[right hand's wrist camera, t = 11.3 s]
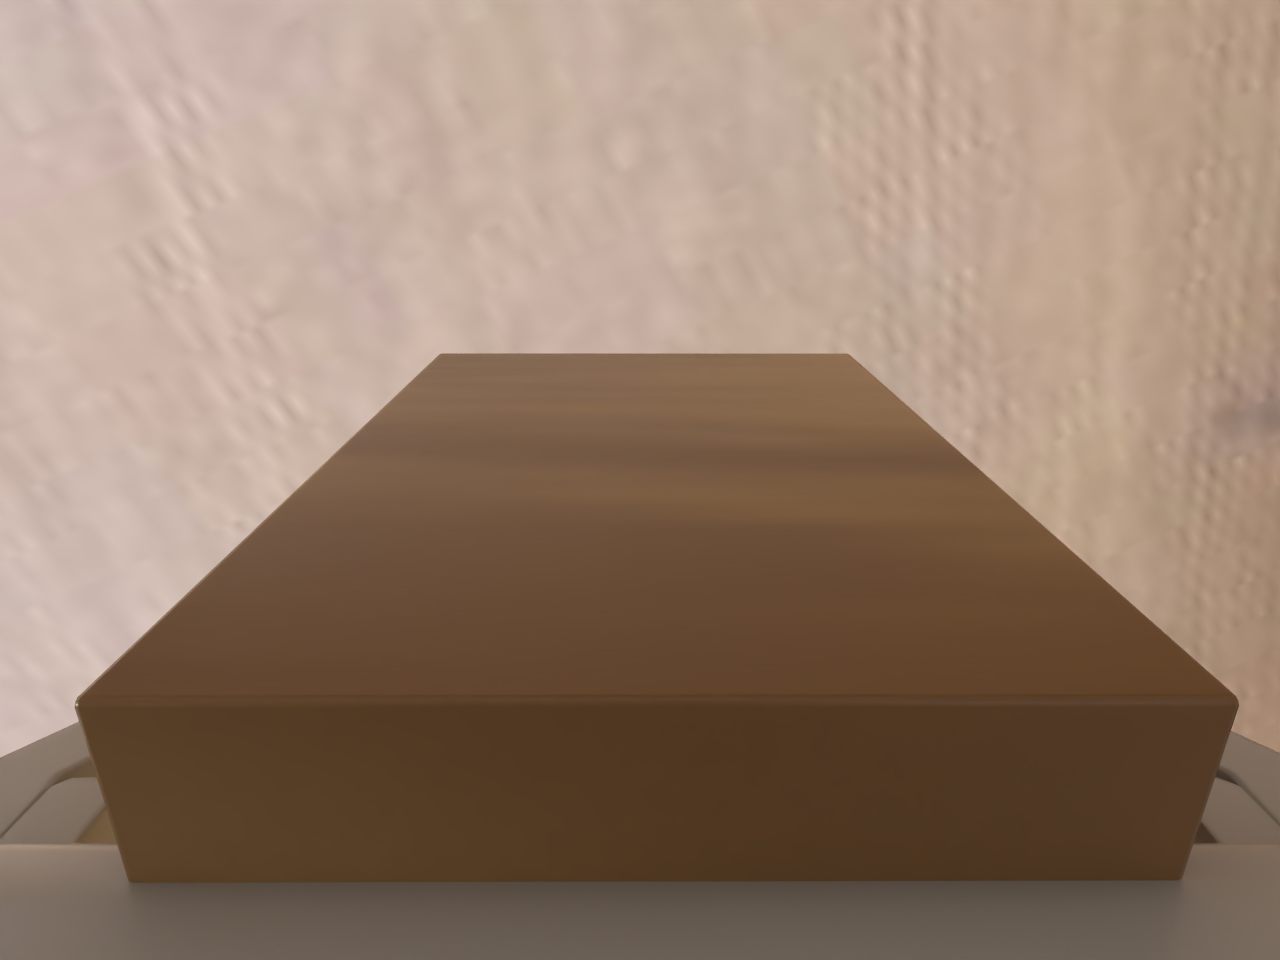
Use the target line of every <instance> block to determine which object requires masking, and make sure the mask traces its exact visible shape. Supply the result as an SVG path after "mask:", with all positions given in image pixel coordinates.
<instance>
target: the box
mask: <svg viewBox="0 0 1280 960" xmlns="http://www.w3.org/2000/svg"><path fill="white" fill-rule="evenodd" d="M1238 707H1239V704H1238V699H1237V697H1236V696H1235V695H1234V694H1233V693H1232V692H1231V691H1230V690H1228V689H1227V688H1226V687H1225V686H1224V685H1223V684H1222V683H1220V682H1219V681H1218V680H1217V679H1216V678H1215V677H1214V676H1213V675H1211V674H1210V673H1209V672H1208V671H1207V670H1206V669H1205V668H1204V667H1202V666H1201V665H1200V664H1199V663H1198V662H1197V661H1196V660H1194V659H1193V658H1192V657H1191V656H1190V655H1189V654H1188V653H1187V652H1185V651H1184V650H1183V649H1182V648H1181V647H1180V646H1179V645H1177V644H1176V643H1175V642H1174V641H1173V640H1172V639H1171V638H1170V637H1168V636H1167V635H1166V634H1165V633H1164V632H1163V631H1162V630H1161V629H1159V628H1158V627H1157V626H1156V625H1155V624H1154V623H1153V622H1151V621H1150V620H1149V619H1148V618H1147V617H1146V616H1145V615H1144V614H1142V613H1141V612H1140V611H1139V610H1138V609H1137V608H1136V607H1134V606H1133V605H1132V604H1131V603H1130V602H1129V601H1128V600H1127V599H1125V598H1124V597H1123V596H1122V595H1121V594H1120V593H1119V592H1117V591H1116V590H1115V589H1114V588H1113V587H1112V586H1111V585H1110V584H1108V583H1107V582H1106V581H1105V580H1104V579H1103V578H1102V577H1101V576H1099V575H1098V574H1097V573H1096V572H1095V571H1094V570H1093V569H1091V568H1090V567H1089V566H1088V565H1087V564H1086V563H1085V562H1084V561H1082V560H1081V559H1080V558H1079V557H1078V556H1077V555H1076V554H1074V553H1073V552H1072V551H1071V550H1070V549H1069V548H1068V547H1067V546H1065V545H1064V544H1063V543H1062V542H1061V541H1060V540H1059V539H1058V538H1056V537H1055V536H1054V535H1053V534H1052V533H1051V532H1050V531H1048V530H1047V529H1046V528H1045V527H1044V526H1043V525H1042V524H1041V523H1039V522H1038V521H1037V520H1036V519H1035V518H1034V517H1033V516H1031V515H1030V514H1029V513H1028V512H1027V511H1026V510H1025V509H1024V508H1022V507H1021V506H1020V505H1019V504H1018V503H1017V502H1016V501H1015V500H1013V499H1012V498H1011V497H1010V496H1009V495H1008V494H1007V493H1005V492H1004V491H1003V490H1002V489H1001V488H1000V487H999V486H998V485H996V484H995V483H994V482H993V481H992V480H991V479H990V478H988V477H987V476H986V475H985V474H984V473H983V472H982V471H981V470H979V469H978V468H977V467H976V466H975V465H974V464H973V463H972V462H970V461H969V460H968V459H967V458H966V457H965V456H964V455H962V454H961V453H960V452H959V451H958V450H957V449H956V448H955V447H953V446H952V445H951V444H950V443H949V442H948V441H947V440H945V439H944V438H943V437H942V436H941V435H940V434H939V433H938V432H936V431H935V430H934V429H933V428H932V427H931V426H930V425H929V424H927V423H926V422H925V421H924V420H923V419H922V418H921V417H919V416H918V415H917V414H916V413H915V412H914V411H913V410H912V409H910V408H909V407H908V406H907V405H906V404H905V403H904V402H902V401H901V400H900V399H899V398H898V397H897V396H896V395H895V394H893V393H892V392H891V391H890V390H889V389H888V388H887V387H886V386H884V385H883V384H882V383H881V382H880V381H879V380H878V379H876V378H875V377H874V376H873V375H872V374H871V373H870V372H869V371H867V370H866V369H865V368H864V367H863V366H862V365H861V364H859V363H858V362H857V361H856V360H855V359H854V358H853V357H852V356H850V355H849V354H440V355H438V356H437V357H436V358H435V359H434V360H433V361H432V362H431V363H430V364H429V365H428V366H427V367H426V368H425V369H424V370H423V371H421V372H420V373H419V374H418V375H417V376H416V377H415V378H414V379H413V380H412V381H411V382H410V383H409V384H408V385H407V386H406V387H405V388H404V389H403V390H401V391H400V392H399V393H398V394H397V395H396V396H395V397H394V398H393V399H392V400H391V401H390V402H389V403H388V404H387V405H386V406H385V407H384V408H382V409H381V410H380V411H379V412H378V413H377V414H376V415H375V416H374V417H373V418H372V419H371V420H370V421H369V422H368V423H367V424H366V425H365V426H363V427H362V428H361V429H360V430H359V431H358V432H357V433H356V434H355V435H354V436H353V437H352V438H351V439H350V440H349V441H348V442H347V443H346V444H344V445H343V446H342V447H341V448H340V449H339V450H338V451H337V452H336V453H335V454H334V455H333V456H332V457H331V458H330V459H329V460H328V461H327V462H325V463H324V464H323V465H322V466H321V467H320V468H319V469H318V470H317V471H316V472H315V473H314V474H313V475H312V476H311V477H310V478H309V479H308V480H306V481H305V482H304V483H303V484H302V485H301V486H300V487H299V488H298V489H297V490H296V491H295V492H294V493H293V494H292V495H291V496H290V497H289V498H287V499H286V500H285V501H284V502H283V503H282V504H281V505H280V506H279V507H278V508H277V509H276V510H275V511H274V512H273V513H272V514H271V515H270V516H268V517H267V518H266V519H265V520H264V521H263V522H262V523H261V524H260V525H259V526H258V527H257V528H256V529H255V530H254V531H253V532H252V533H251V534H249V535H248V536H247V537H246V538H245V539H244V540H243V541H242V542H241V543H240V544H239V545H238V546H237V547H236V548H235V549H234V550H233V551H232V552H230V553H229V554H228V555H227V556H226V557H225V558H224V559H223V560H222V561H221V562H220V563H219V564H218V565H217V566H216V567H215V568H214V569H213V570H211V571H210V572H209V573H208V574H207V575H206V576H205V577H204V578H203V579H202V580H201V581H200V582H199V583H198V584H197V585H196V586H195V587H194V588H192V589H191V590H190V591H189V592H188V593H187V594H186V595H185V596H184V597H183V598H182V599H181V600H180V601H179V602H178V603H177V604H176V605H175V606H173V607H172V608H171V609H170V610H169V611H168V612H167V613H166V614H165V615H164V616H163V617H162V618H161V619H160V620H159V621H158V622H157V623H156V624H154V625H153V626H152V627H151V628H150V629H149V630H148V631H147V632H146V633H145V634H144V635H143V636H142V637H141V638H140V639H139V640H138V641H137V642H135V643H134V644H133V645H132V646H131V647H130V648H129V649H128V650H127V651H126V652H125V653H124V654H123V655H122V656H121V657H120V658H119V659H118V660H116V661H115V662H114V663H113V664H112V665H111V666H110V667H109V668H108V669H107V670H106V671H105V672H104V673H103V674H102V675H101V676H100V677H99V678H97V679H96V680H95V681H94V682H93V683H92V684H91V685H90V686H89V687H88V688H87V689H86V690H85V691H84V692H83V693H82V694H81V695H80V696H79V697H78V698H77V700H76V702H75V710H76V713H77V716H78V719H79V723H80V726H81V729H82V732H83V736H84V739H85V742H86V745H87V749H88V752H89V755H90V758H91V761H92V765H93V768H94V771H95V774H96V778H97V781H98V784H99V787H100V791H101V794H102V797H103V800H104V804H105V807H106V810H107V813H108V817H109V820H110V823H111V826H112V829H113V833H114V836H115V839H116V842H117V846H118V849H119V852H120V855H121V859H122V862H123V865H124V868H125V872H126V875H127V878H128V881H130V882H133V883H228V882H688V881H1143V880H1180V879H1182V877H1183V874H1184V871H1185V868H1186V865H1187V862H1188V859H1189V856H1190V853H1191V849H1192V846H1193V843H1194V840H1195V837H1196V834H1197V831H1198V828H1199V825H1200V822H1201V819H1202V816H1203V813H1204V810H1205V807H1206V804H1207V801H1208V798H1209V795H1210V792H1211V789H1212V786H1213V783H1214V780H1215V777H1216V774H1217V771H1218V768H1219V764H1220V761H1221V758H1222V755H1223V752H1224V749H1225V746H1226V743H1227V740H1228V737H1229V734H1230V731H1231V728H1232V725H1233V722H1234V719H1235V716H1236V713H1237V710H1238Z"/></svg>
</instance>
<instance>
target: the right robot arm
mask: <svg viewBox="0 0 1280 960" xmlns="http://www.w3.org/2000/svg"><path fill="white" fill-rule="evenodd" d="M0 960H1280V753H1278V752H1276V751H1274V750H1272V749H1270V748H1267V747H1265V746H1263V745H1261V744H1259V743H1256V742H1254V741H1252V740H1250V739H1248V738H1245V737H1243V736H1241V735H1239V734H1237V733H1234V732H1232V731H1230V734H1229V737H1228V740H1227V743H1226V746H1225V749H1224V752H1223V755H1222V758H1221V761H1220V764H1219V768H1218V771H1217V774H1216V777H1215V780H1214V783H1213V786H1212V789H1211V792H1210V795H1209V798H1208V801H1207V804H1206V807H1205V810H1204V813H1203V816H1202V819H1201V822H1200V825H1199V828H1198V831H1197V834H1196V837H1195V840H1194V843H1193V846H1192V849H1191V853H1190V856H1189V859H1188V862H1187V865H1186V868H1185V871H1184V874H1183V877H1182V879H1180V880H1143V881H688V882H228V883H133V882H130V881H128V878H127V875H126V872H125V868H124V865H123V862H122V859H121V855H120V852H119V849H118V846H117V842H116V839H115V836H114V833H113V829H112V826H111V823H110V820H109V817H108V813H107V810H106V807H105V804H104V800H103V797H102V794H101V791H100V787H99V784H98V781H97V778H96V774H95V771H94V768H93V765H92V761H91V758H90V755H89V752H88V749H87V745H86V742H85V739H84V736H83V732H82V729H81V726H80V723H79V722H77V723H75V724H73V725H71V726H69V727H66V728H64V729H62V730H60V731H58V732H55V733H53V734H51V735H49V736H47V737H45V738H42V739H40V740H38V741H36V742H34V743H32V744H29V745H27V746H25V747H23V748H21V749H18V750H16V751H14V752H12V753H10V754H8V755H5V756H3V757H1V758H0Z"/></svg>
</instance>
